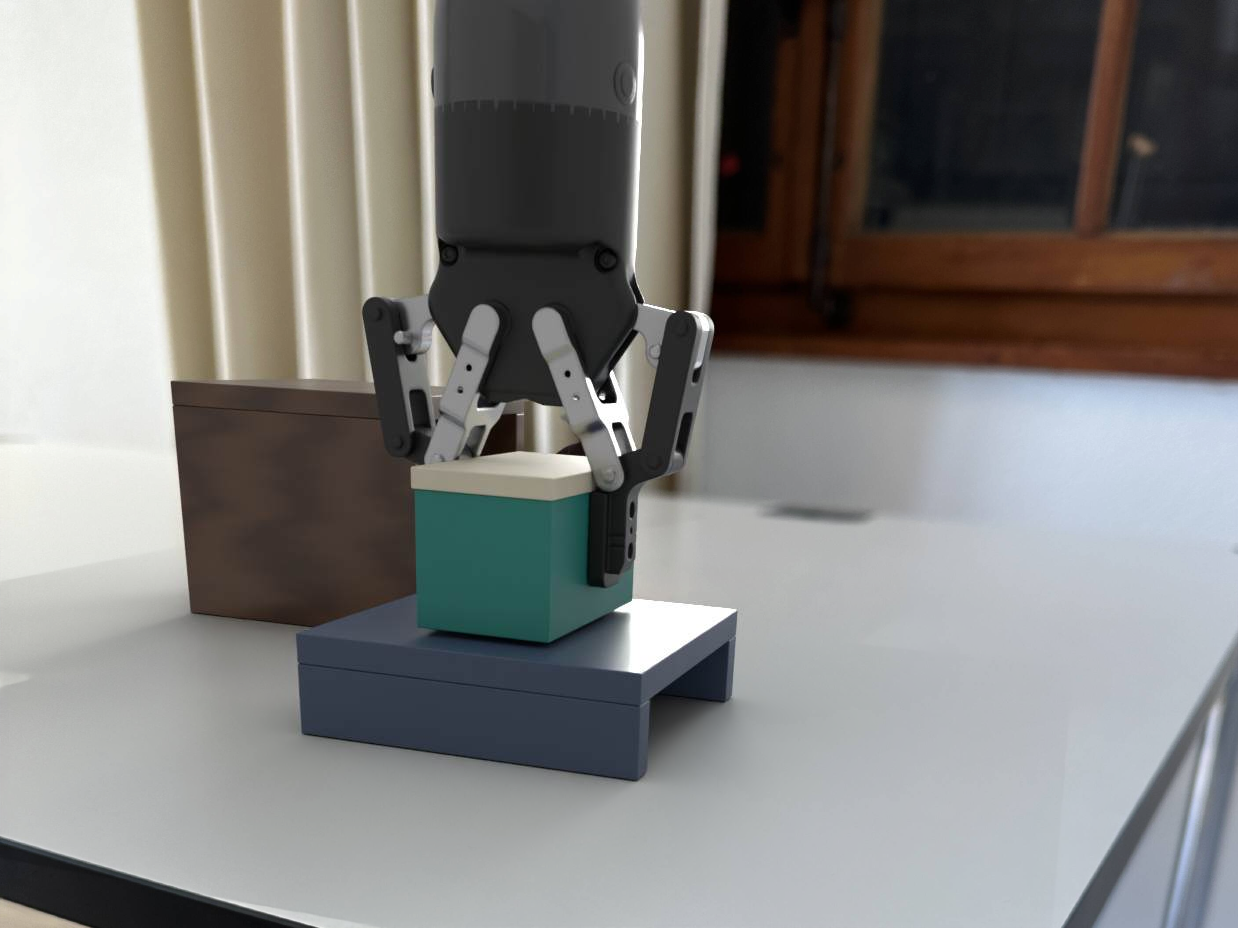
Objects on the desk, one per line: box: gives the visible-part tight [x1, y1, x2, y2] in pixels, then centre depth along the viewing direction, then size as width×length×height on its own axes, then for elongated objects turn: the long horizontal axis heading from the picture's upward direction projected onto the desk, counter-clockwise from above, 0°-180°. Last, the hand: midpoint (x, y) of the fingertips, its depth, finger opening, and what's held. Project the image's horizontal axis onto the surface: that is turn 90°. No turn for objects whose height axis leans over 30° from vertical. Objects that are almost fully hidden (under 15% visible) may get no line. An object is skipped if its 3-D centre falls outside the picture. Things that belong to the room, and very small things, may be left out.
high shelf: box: [170, 378, 525, 628], centre depth 75 cm, size 14×14×12 cm
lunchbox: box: [411, 451, 635, 643], centre depth 53 cm, size 6×10×6 cm, turn 163°
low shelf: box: [295, 593, 739, 781], centre depth 55 cm, size 14×14×4 cm
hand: (532, 576), depth 54 cm, fingers closed on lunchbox, 5 cm apart
